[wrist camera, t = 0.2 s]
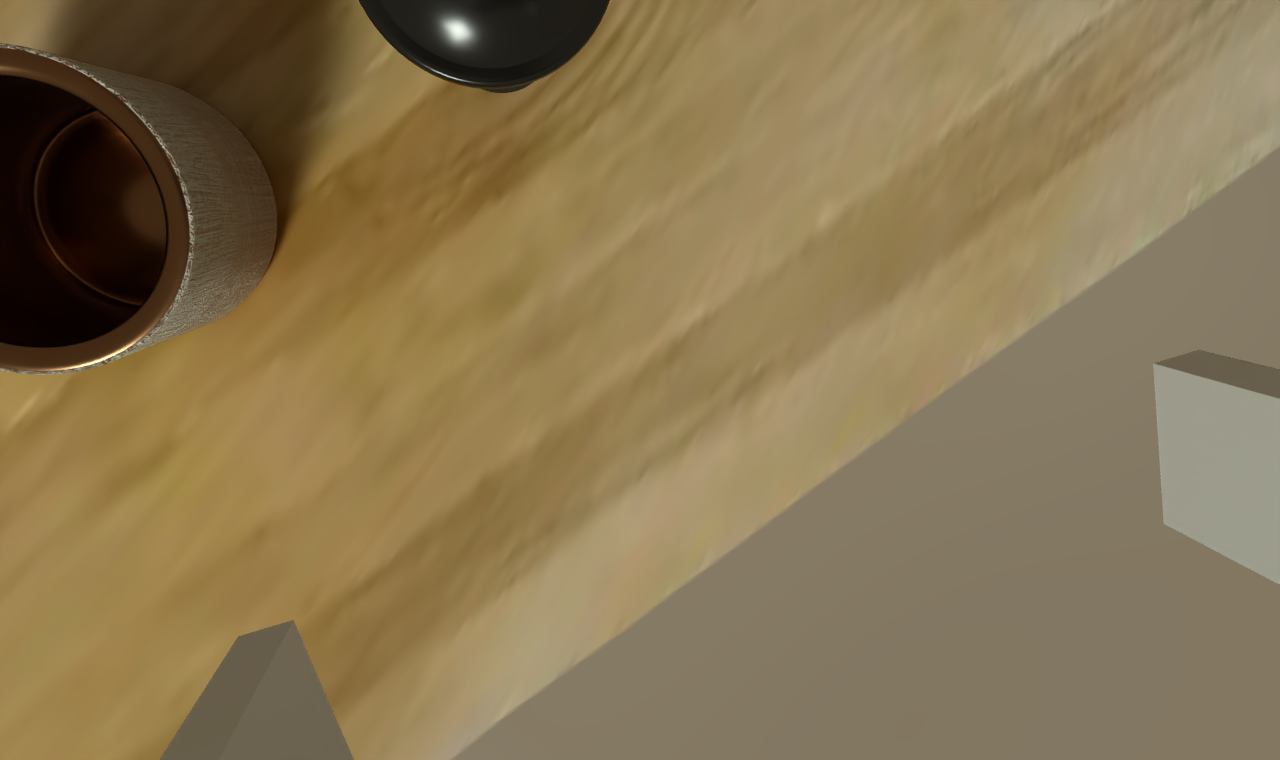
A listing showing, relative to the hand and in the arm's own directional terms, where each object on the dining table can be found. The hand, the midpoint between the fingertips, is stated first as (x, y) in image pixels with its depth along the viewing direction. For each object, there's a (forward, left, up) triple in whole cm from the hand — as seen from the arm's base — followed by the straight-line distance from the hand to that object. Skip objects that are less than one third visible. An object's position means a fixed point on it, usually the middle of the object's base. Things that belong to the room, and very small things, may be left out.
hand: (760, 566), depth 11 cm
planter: (-10, -18, -28) cm, 35 cm away
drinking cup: (-13, -1, -28) cm, 31 cm away
